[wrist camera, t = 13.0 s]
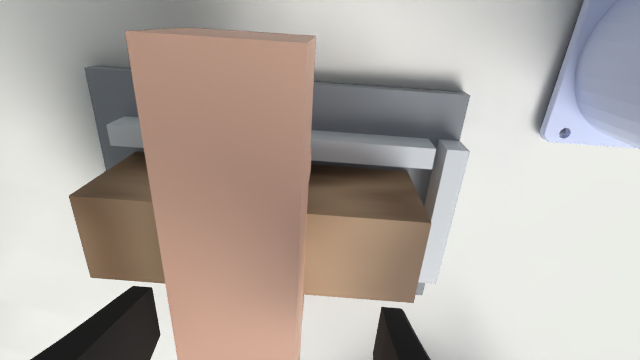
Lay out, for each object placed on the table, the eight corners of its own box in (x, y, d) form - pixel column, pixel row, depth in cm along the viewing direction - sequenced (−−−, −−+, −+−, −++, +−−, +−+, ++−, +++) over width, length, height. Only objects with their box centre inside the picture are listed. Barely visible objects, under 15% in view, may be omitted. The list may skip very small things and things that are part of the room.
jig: (464, 92, 17) (482, 102, 15) (419, 285, 22) (427, 314, 20) (95, 65, 17) (62, 72, 15) (134, 263, 22) (113, 289, 20)
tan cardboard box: (407, 171, 18) (431, 223, 13) (395, 236, 20) (413, 302, 15) (136, 151, 18) (68, 195, 14) (147, 218, 20) (90, 277, 15)
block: (300, 364, 18) (290, 462, 14) (224, 358, 18) (192, 454, 14) (317, 34, 12) (307, 43, 8) (198, 26, 12) (125, 30, 8)
